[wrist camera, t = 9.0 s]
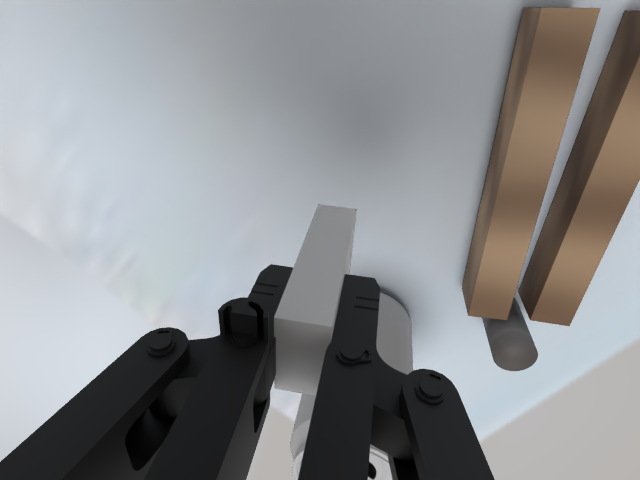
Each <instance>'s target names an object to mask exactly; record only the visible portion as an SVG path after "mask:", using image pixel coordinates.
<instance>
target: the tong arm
mask: <svg viewBox="0 0 640 480" xmlns="http://www.w3.org/2000/svg"><path fill="white" fill-rule="evenodd" d="M599 11H600V8H551V7H535V8H524V9H523V14H522V18H521V23H520V27H519V32H518V36H517V41H516V45H515V50H514V54H513V59H512V64H511V68H510V73H509V77H508V82H507V86H506V91H505V95H504V100H503V104H502V109H501V114H500V118H499V123H498V127H497V132H496V136H495V141H494V145H493V150H492V154H491V159H490V163H489V168H488V173H487V177H486V182H485V186H484V191H483V195H482V200H481V204H480V209H479V213H478V218H477V223H476V227H475V232H474V236H473V241H472V245H471V250H470V254H469V259H468V263H467V268H466V272H465V277H464V282H463V286H462V291H463V295H464V299H465V304H466V308H467V313H468V316H475V317H484V318H493V319H502V320H507V318H508V315H509V312H510V308H511V305H512V302H513V298H514V295H515V292H516V288H517V285H518V282H519V278H520V275H521V272H522V268H523V265H524V262H525V258H526V255H527V252H528V248H529V245H530V242H531V238H532V235H533V232H534V228H535V225H536V222H537V218H538V215H539V212H540V208H541V205H542V202H543V198H544V195H545V192H546V188H547V185H548V181H549V178H550V175H551V171H552V168H553V165H554V161H555V158H556V155H557V151H558V148H559V145H560V141H561V138H562V135H563V131H564V128H565V125H566V121H567V118H568V115H569V111H570V108H571V105H572V101H573V98H574V95H575V91H576V88H577V85H578V81H579V78H580V75H581V71H582V68H583V65H584V61H585V58H586V55H587V51H588V48H589V45H590V41H591V38H592V35H593V31H594V28H595V25H596V21H597V18H598V15H599Z"/></svg>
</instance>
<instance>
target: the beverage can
mask: <svg viewBox="0 0 640 480" xmlns="http://www.w3.org/2000/svg"><path fill="white" fill-rule="evenodd" d="M376 346H377V351H378V354H379V356H380V357H381V358H382V360H383V361H384V362H385V363H387V364H388V365H389V366H391V367H392V368H394V369H396V370H398V371H400V372H402V373H405V374H407V375H408V374H409V373H410V372H412V371H413V356H412V330H411V322H410V318H409V316H408V314H407V312H406V310H405V309H404V308H403V307H402V305H401V304H400V303H398V302H397V301H396V300H394V299H393V298H391V297H390V296H388V295H386V294H383V293H381V292H380V300H379V314H378V327H377V341H376ZM315 398H316V396H314V395H309V394H303V393H302V396H301V400H300V404H299V408H298V412H297V416H296V420H295V424H294V429H293V433H292V437H291V441H290V448H291V453H292V456H293V459H294V460H293V465H292V475H293V478H294V480H298V476H299V472H300V467H301V462H302V458H303V453H304V449H305V444H306V439H307V435H308V430H309V426H310V421H311V416H312V412H313V407H314V403H315ZM368 480H393V479H392V475H391V470H390V465H389V460H388V456H387V453H385V452H384V451H382V450H380V449H378V448H376V447H374V446H373V445H371V444H370V455H369V468H368Z"/></svg>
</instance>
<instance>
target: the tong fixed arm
mask: <svg viewBox="0 0 640 480" xmlns="http://www.w3.org/2000/svg"><path fill="white" fill-rule="evenodd" d="M639 180H640V11H625V12H624V14H623V17H622V20H621V22H620V25H619V28H618V30H617V33H616V36H615V38H614V41H613V44H612V46H611V49H610V51H609V54H608V57H607V59H606V62H605V65H604V67H603V70H602V73H601V75H600V78H599V80H598V83H597V86H596V88H595V91H594V94H593V96H592V99H591V102H590V104H589V107H588V110H587V112H586V115H585V117H584V120H583V123H582V125H581V128H580V131H579V133H578V136H577V139H576V141H575V144H574V146H573V149H572V152H571V154H570V157H569V160H568V162H567V165H566V168H565V170H564V173H563V175H562V178H561V181H560V183H559V186H558V189H557V191H556V194H555V197H554V199H553V202H552V205H551V207H550V210H549V212H548V215H547V218H546V220H545V223H544V226H543V228H542V231H541V234H540V236H539V239H538V241H537V244H536V247H535V249H534V252H533V255H532V257H531V260H530V263H529V265H528V268H527V270H526V273H525V276H524V278H523V281H522V284H521V286H520V289H519V292H518V293H519V295H520V297H521V300H522V302H523V304H524V307H525V309H526V311H527V314H528V316H529V319H530V320H533V321H539V322H546V323H552V324H559V325H565V326H570V324H571V322H572V320H573V317H574V315H575V313H576V311H577V309H578V307H579V305H580V303H581V301H582V299H583V297H584V295H585V292H586V290H587V288H588V286H589V284H590V282H591V280H592V278H593V276H594V274H595V272H596V270H597V267H598V265H599V263H600V261H601V259H602V257H603V255H604V253H605V251H606V249H607V247H608V245H609V242H610V240H611V238H612V236H613V234H614V232H615V230H616V228H617V226H618V224H619V222H620V220H621V217H622V215H623V213H624V211H625V209H626V207H627V205H628V203H629V201H630V199H631V197H632V195H633V192H634V190H635V188H636V186H637V184H638V182H639ZM482 319H483V323H484V327H485V330H486V334H487V338H488V341H489V345H490V349H491V352H492V356H493V360H494V362H495V363H496V365H497V366H499V367H500V368H502V369H505V370H509V371H520V370H524V369H527V368H529V367H530V366H532V365H533V364H534V363H535V362H536V360H537V357H538V352H537V349H536V347H535V344H534V342H533V340H532V337H531V335H530V332H529V330H528V327H527V325H526V322H525V320H524V317H523V315H522V312H521V310H520V308H519V305H518V303H517V301H516V300H515V299H514V298H513V302H512V305H511V308H510V312H509V315H508V318H507V320H502V319H493V318H484V317H482Z"/></svg>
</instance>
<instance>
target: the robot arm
mask: <svg viewBox="0 0 640 480" xmlns="http://www.w3.org/2000/svg"><path fill="white" fill-rule="evenodd" d="M356 211H357V209H351V208H343V207H335V206H327V205H319V204H318V207H317V209H316V212H315V214H314V217H313V219H312V222H311V224H310V227H309V230H308V232H307V235H306V237H305V240H304V242H303V245H302V247H301V250H300V253H299V255H298V258H297V260H296V263H295V265H294V268H292V267H286V266H279V265H272V264H271V265H269V266H268V267H267V268H265V269H264V270H263V271H262V272H260V274H259V276H258V278H257V280H256V282H255V284H254V286H253V288H252V290H251V293H250V294H249V296H248V298H237V299H233V300H230V301H229V302H227V303H225V304H223V305H222V306H221V308H220V309H219V310H218V314H219V324H220V335H219V336H216V337H213V338H207V339H197V340H188V338H187V336H186V334H185V333H184V332H182V331H181V330H179V329H175V328H170V327H169V328H159V329H156V330H153V331H150V332H149V333H147V334H146V335H144V336H143V337H141V338H140V339H139V340H138V341H137V342H135V343H134V344H133V345H132V346H131V347H130V348H129V349H128V350H127V351H125V352H124V353H123V354H122V355H121V356H120V357H119V358H117V359H116V360H115V361H114V362H113V363H112V364H111V365H110V366H108V367H107V368H106V369H105V370H104V371H103V372H102V373H100V375H98V376H97V377H96V378H95V379H94V380H92V381H91V382H90V383H89V384H88V385H87V386H86V387H85V388H83V389H82V390H81V391H80V392H79V393H78V394H77V395H75V396H74V397H73V398H72V399H71V400H70V401H69V402H68V403H67V404H65V405H64V406H63V407H62V408H61V409H60V410H59V411H57V412H56V413H55V414H54V415H53V416H52V417H51V418H50V419H48V420H47V421H46V422H45V423H44V424H43V425H42V426H40V427H39V428H38V429H37V430H36V431H35V432H34V433H33V434H31V435H30V436H29V437H28V438H27V439H26V440H25V441H23V442H22V443H21V444H20V445H19V446H18V447H17V448H16V449H14V450H13V451H12V452H11V453H10V454H9V455H8V456H7V457H5V458H4V459H3V460H2V461H1V462H0V480H246V478H247V475H248V472H249V468H250V465H251V462H252V459H253V456H254V453H255V450H256V446H257V443H258V440H259V437H260V434H261V431H262V428H263V424H264V421H265V418H266V415H267V412H268V409H269V405H270V390H271V387H272V384H273V381H274V384H275V388H276V389H281V390H287V391H292V392H298V393H303V394H309V395H314V396H316V398H315V403H314V407H313V412H312V416H311V421H310V426H309V430H308V435H307V439H306V444H305V449H304V453H303V458H302V462H301V467H300V472H299V476H298V480H368V468H369V455H370V444H371V445H373V446H374V447H376V448H378V449H380V450H382V451H384V452H385V453H387V456H388V460H389V465H390V470H391V475H392V479H393V480H494V477H493V475H492V473H491V470H490V468H489V465H488V463H487V461H486V458H485V456H484V454H483V451H482V449H481V446H480V444H479V441H478V439H477V437H476V434H475V432H474V429H473V427H472V425H471V422H470V420H469V417H468V415H467V413H466V410H465V408H464V405H463V403H462V401H461V398H460V396H459V393H458V391H457V389H456V388H455V386H454V385H453V383H452V382H451V381H450V380H449V379H448V378H447V377H445V376H444V375H443V374H440V373H438V372H436V371H434V370H428V369H419V370H414V371H412V372H410V373H409V374H408V375H407V374H405V373H402V372H400V371H398V370H396V369H394V368H392V367H391V366H389V365H388V364H387V363H385V362H384V361H383V360H382V358H381V357H380V356H379V354H378V351H377V346H376V341H377V327H378V314H379V300H380V287H379V285H378V284H377V282H376V280H375V278H369V277H362V276H355V275H349V271H350V265H351V256H352V247H353V238H354V229H355V220H356Z"/></svg>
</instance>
